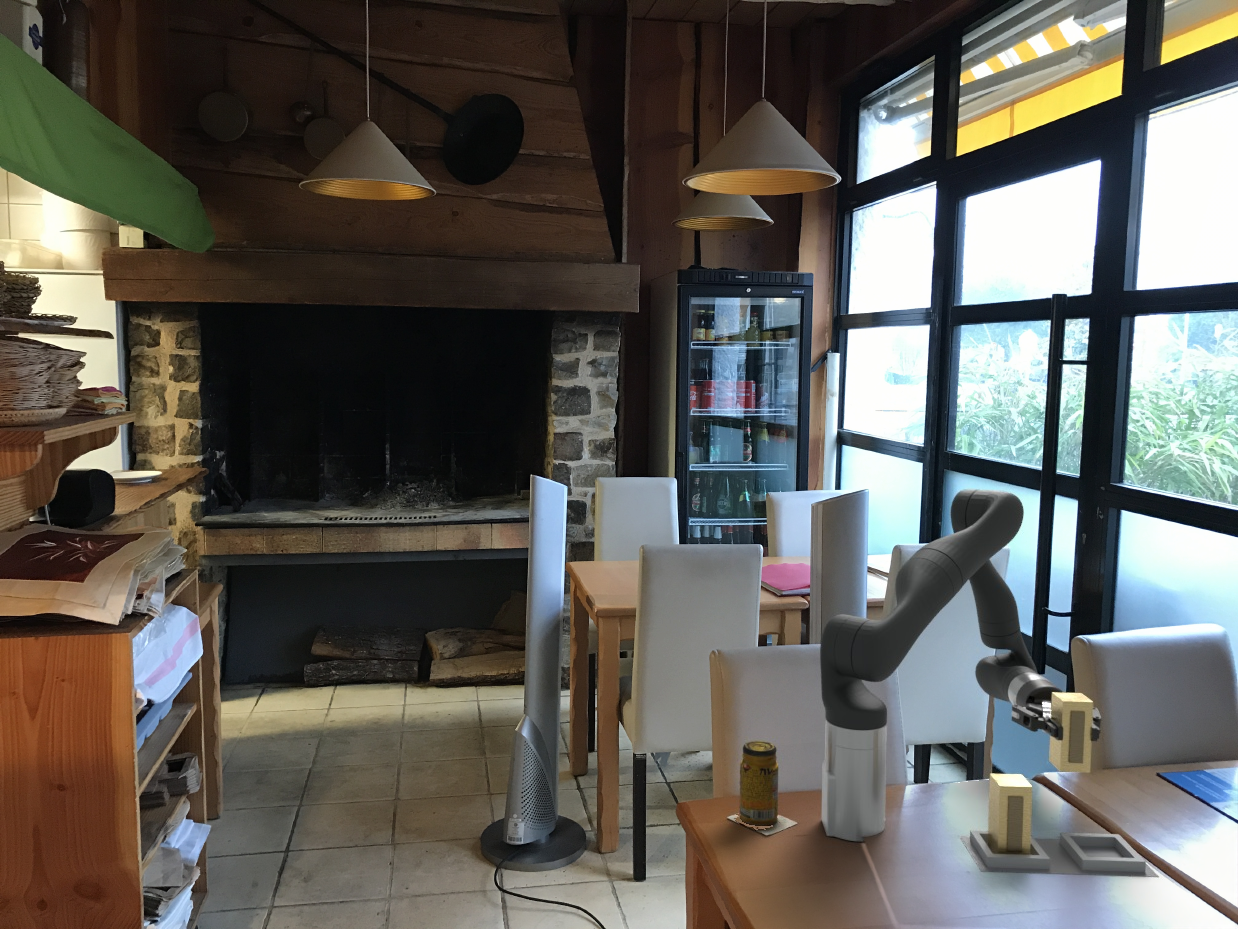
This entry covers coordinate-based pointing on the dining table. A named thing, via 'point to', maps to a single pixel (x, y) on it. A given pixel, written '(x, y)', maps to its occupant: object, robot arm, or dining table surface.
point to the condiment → (760, 788)
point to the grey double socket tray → (1062, 856)
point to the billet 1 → (1009, 814)
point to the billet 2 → (1072, 732)
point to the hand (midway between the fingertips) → (1078, 734)
